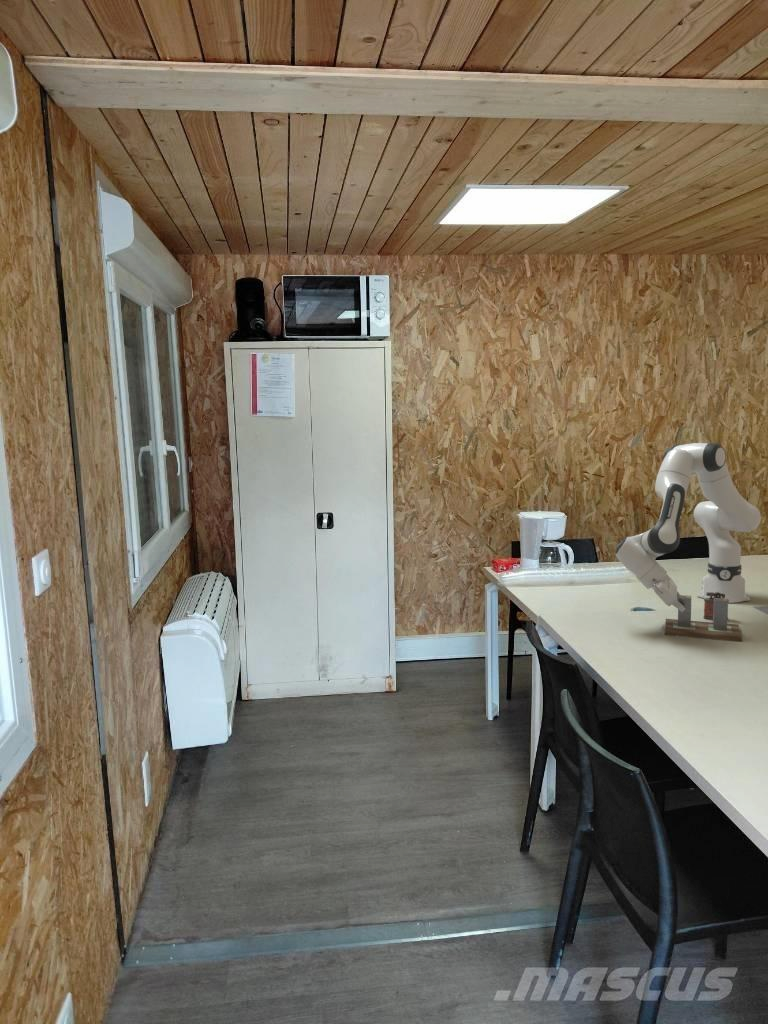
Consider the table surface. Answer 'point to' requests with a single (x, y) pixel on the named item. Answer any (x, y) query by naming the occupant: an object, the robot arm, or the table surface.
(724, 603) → the block
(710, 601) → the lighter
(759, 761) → the table surface
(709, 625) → the pallet
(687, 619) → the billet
